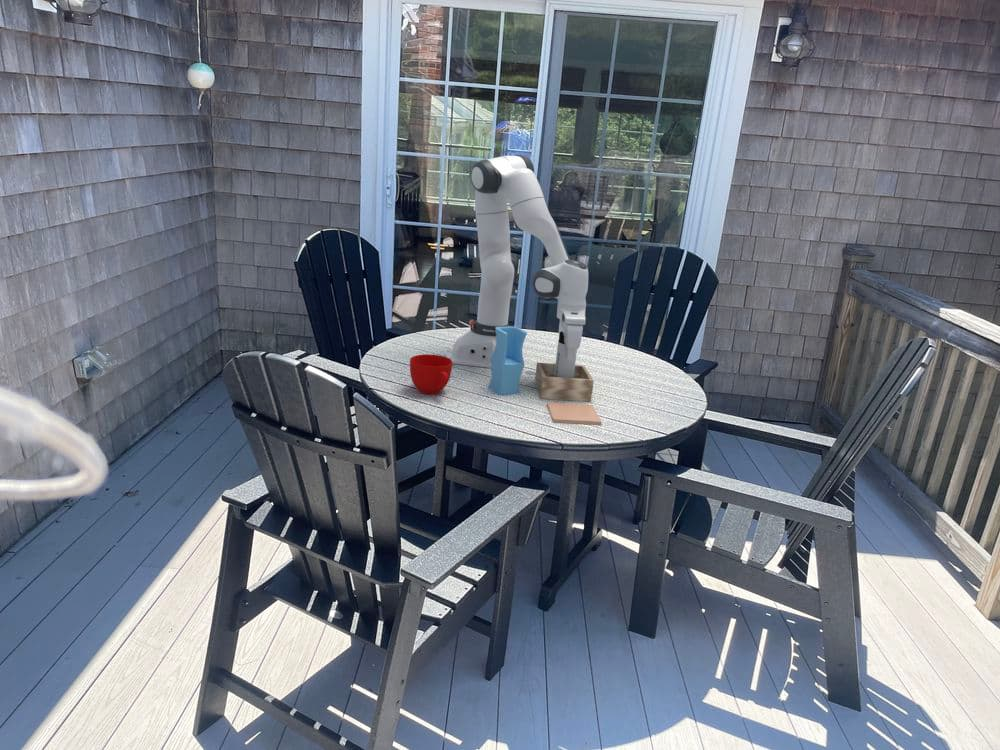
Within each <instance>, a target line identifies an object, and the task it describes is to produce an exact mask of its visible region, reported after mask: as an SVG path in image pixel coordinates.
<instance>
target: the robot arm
mask: <svg viewBox="0 0 1000 750" xmlns="http://www.w3.org/2000/svg"><path fill="white" fill-rule="evenodd" d="M470 181H471V185H472V186H473V188H474V190H475V193H474V194H475V196H474V203H475V204H474V206H475V207H474V209H475V219H476V228H477V238H478V240H477V242H478V252H479V263H480V270H481V280H480V289H479V296H478V302H477V313H476V315H477V317H476V320H474V319H469V321H468V323H469V326H470V330H469V331H468V332H466V333H465V334H462V335H461V336H459V337H458V338H457V339H456V340H455V341H454V344H453V348H452V350H449V351H448V352H447V353H446V355H445V357H447V358H449V359H451V360H452V364H455V365H463V366H471V367H480V368H486V369H487V368H488V369H492V368H491V356H492V354H493V352H494V350H495V347H496V329H495V328H496V327H509V326H510V325H509V315H510V314H509V313H510V304H511V298H512V292H513V286H514V285H513V284H514V278H515V266H514V263H513V262H512V253H511V230H510V219H509V207H510V210H511V214H512V217H513V220H514V222H515V223H516V225H517V227H518V228H519V229H520V230H521V231H523V232H524V233H528V234H530V235H532V236H534V237H536V238H537V239H538V240H539V241H541V243H542V244H543V245H544V248H545V251H546V253H547V255H548V258H549V261H550V263H551V266H549V267H544V268H541V269H539V270H537V271H536V272H535V273H534V274H533V277H532V281H531V285H532V289H533V292H534V294H536V295H537V297H539V298H542V299H553V298H554V299H557V311H556V318H557V319H559V326H558V334H559V333H560V332H561V331H562V333H563V335H564V343H565V344H566V346H567V349H568V351H567V356H566V358H567V359H568V360H572V359H573V354H574V351H575V349H577V350H579V349H580V347H581V342H582V337H583V329H584V326H585V325H586V320H587V319H586V309H587V308H586V307H587V300H586V297H587V293H588V289H589V268H588V267H587V265H586V264H585V263H584V262H582V261H581V260H580V261H579V260H576V259H575V260H574V259H571V257H570V254H569V253H568V250H567V248H566V244H565V242H564V240H563V237H562V234H561V231H560V230H559V227H558V226H557V223H556V222H555V220H554V219H553V217H552V216H551V213H550V211H549V208H548V205H547V203H546V200H545V196H544V192H543V191H542V187H541V185H540V183H539V180H538V179H537V176H536V175H535V166H534V164H533V162H532V160H531V159H530V158H529V157H528V156H527V155H526V156H525V155H521V154H515V155H500V156H498V157H497V156H496V157H493V158H488V159H485V158H484V159H481V160H479V161H477V162H475V163H474V164H473V165H472V167H471V169H470ZM508 204H509V207H508Z"/></svg>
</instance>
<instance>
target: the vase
mask: <svg viewBox="0 0 1000 750" xmlns="http://www.w3.org/2000/svg"><path fill="white" fill-rule="evenodd" d="M495 329H496V347H495V350H494V352H493V354H492V356H491V368H490V369H491V377H490V381H489V384H488V385H487V386H488V388H489V389H490V390H492V391H493V392H494V393H495V394H497V395H501V396H504V395H505V396H507V395H516V394H520V380H521V376H522V373H523V370H524V368H525V361H524V356H523V347H524V342H525V339H526V337H527V335H528V332H527V331H526V330H524V329H521V328H520V327H518V326H515V325H514V326H513V325H512V326H510V325H509V327H496V328H495Z"/></svg>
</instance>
